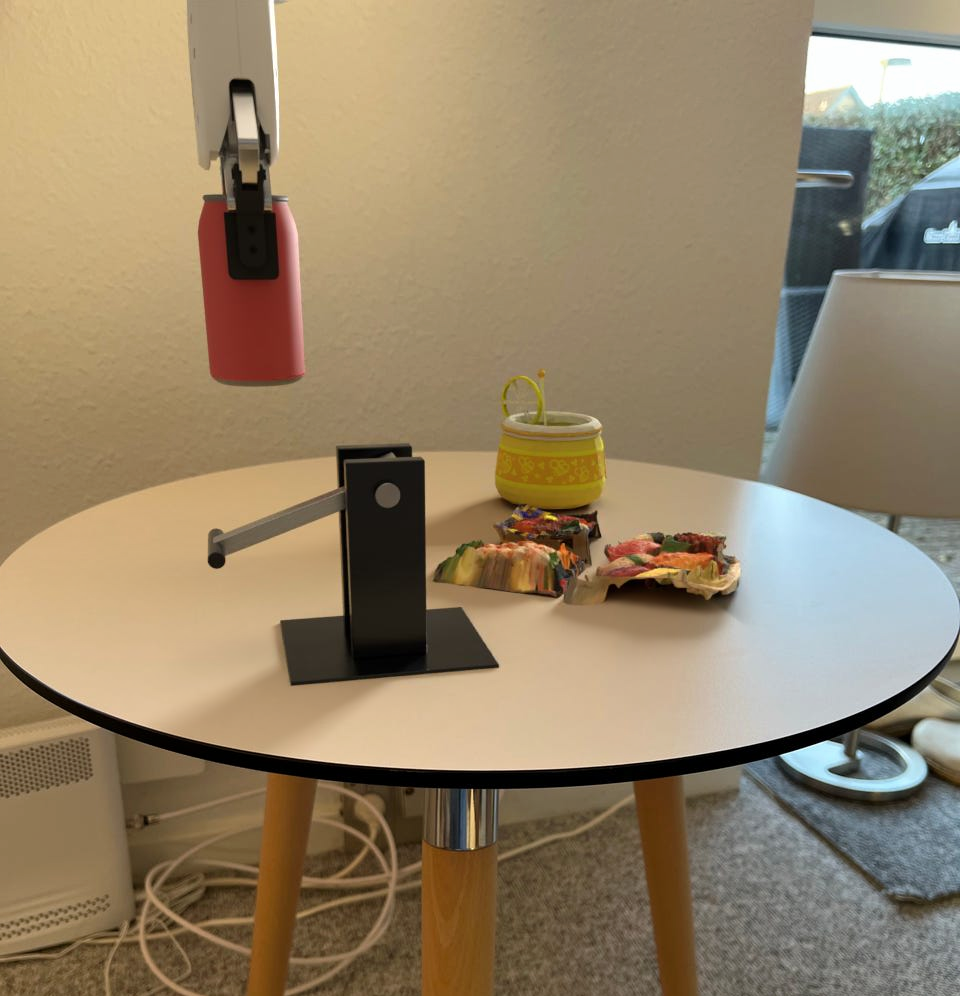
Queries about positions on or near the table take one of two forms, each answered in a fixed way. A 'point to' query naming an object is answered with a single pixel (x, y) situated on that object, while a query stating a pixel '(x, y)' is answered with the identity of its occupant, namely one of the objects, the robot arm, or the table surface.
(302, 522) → the lever
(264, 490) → the table surface
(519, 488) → the yellow flower pot
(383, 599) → the bracket
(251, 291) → the beer can
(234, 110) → the robot arm
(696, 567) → the food
